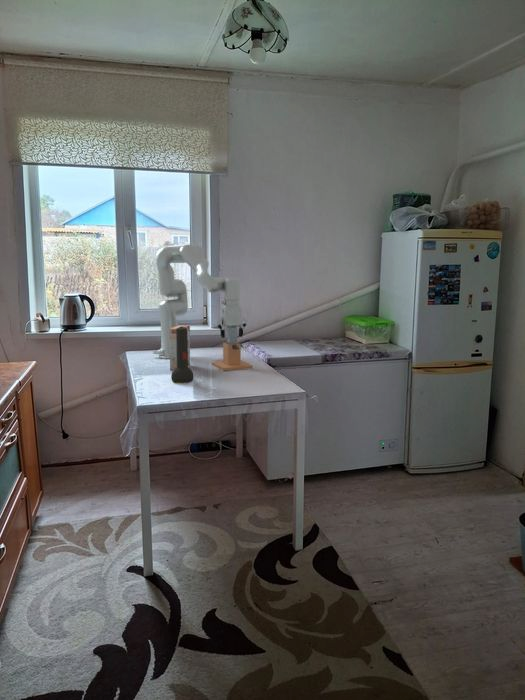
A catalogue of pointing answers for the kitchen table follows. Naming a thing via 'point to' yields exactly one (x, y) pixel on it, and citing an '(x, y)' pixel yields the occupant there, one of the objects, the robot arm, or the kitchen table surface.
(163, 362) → the kitchen table surface
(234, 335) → the steel column
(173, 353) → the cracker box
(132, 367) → the kitchen table surface
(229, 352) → the stand
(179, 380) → the flashlight
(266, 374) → the kitchen table surface
